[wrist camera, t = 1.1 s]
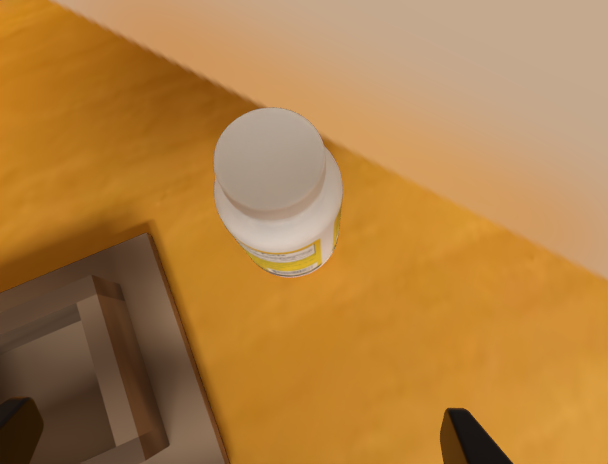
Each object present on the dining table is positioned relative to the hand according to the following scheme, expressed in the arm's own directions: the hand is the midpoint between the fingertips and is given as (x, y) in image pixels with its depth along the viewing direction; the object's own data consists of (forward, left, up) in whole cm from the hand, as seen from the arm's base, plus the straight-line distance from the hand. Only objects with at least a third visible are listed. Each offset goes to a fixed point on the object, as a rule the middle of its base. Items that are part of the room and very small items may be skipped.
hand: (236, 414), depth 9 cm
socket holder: (+4, +10, -13) cm, 18 cm away
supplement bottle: (+7, -4, -14) cm, 16 cm away
